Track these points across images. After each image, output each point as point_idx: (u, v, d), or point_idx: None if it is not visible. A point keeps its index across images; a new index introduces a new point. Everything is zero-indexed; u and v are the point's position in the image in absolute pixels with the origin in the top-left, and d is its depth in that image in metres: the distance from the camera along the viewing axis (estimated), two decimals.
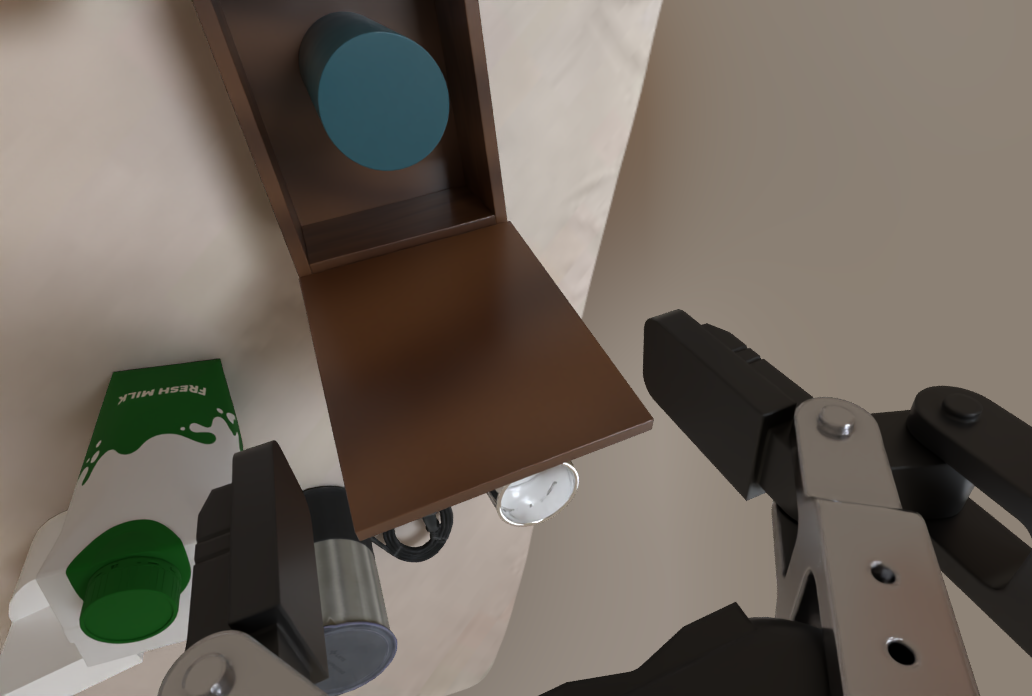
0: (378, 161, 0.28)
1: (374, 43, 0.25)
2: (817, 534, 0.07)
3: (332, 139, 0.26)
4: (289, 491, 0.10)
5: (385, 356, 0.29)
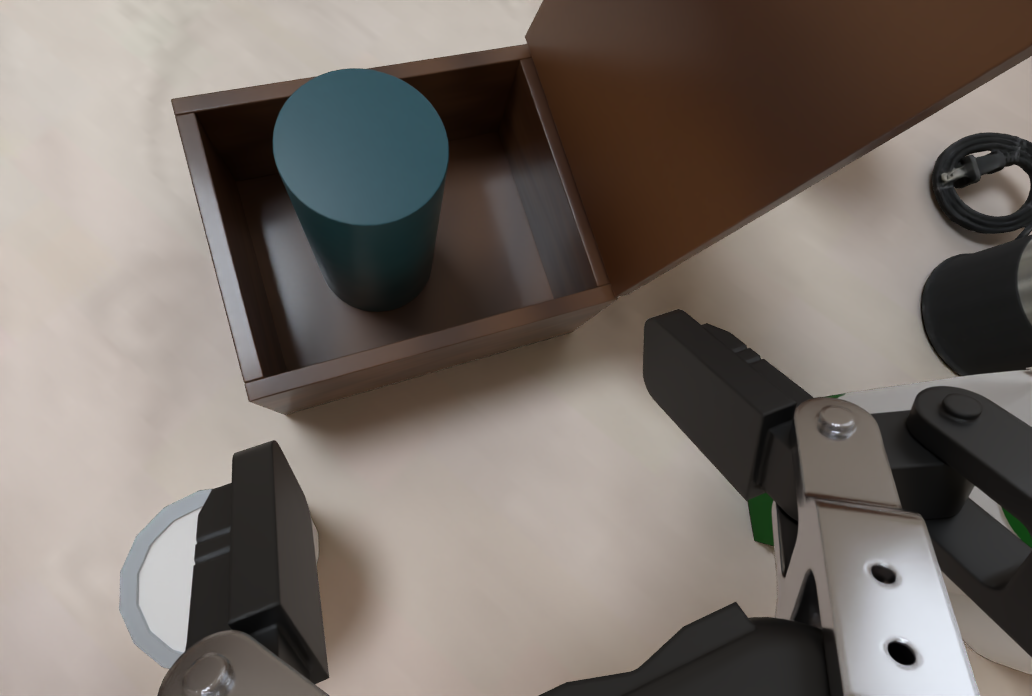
0: (436, 157, 0.21)
1: (287, 155, 0.20)
2: (817, 534, 0.07)
3: (411, 211, 0.20)
4: (289, 491, 0.10)
5: (715, 122, 0.19)
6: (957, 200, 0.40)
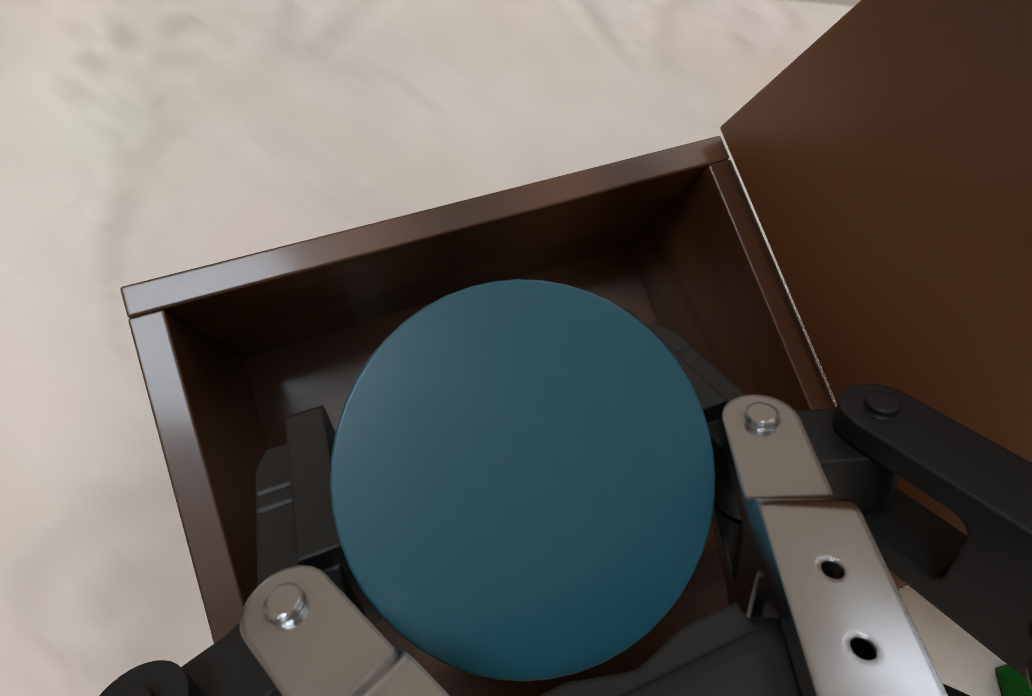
0: (691, 474, 0.09)
1: (367, 520, 0.08)
2: (765, 537, 0.07)
3: (654, 622, 0.09)
4: None
5: None
6: None
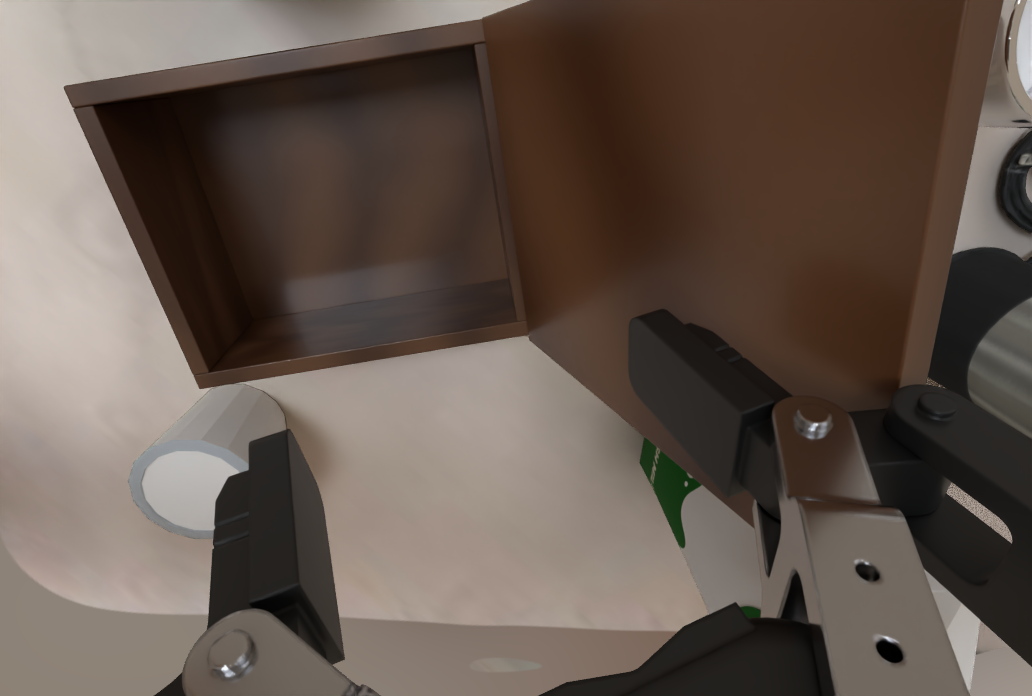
0: None
1: None
2: (801, 534, 0.07)
3: None
4: (303, 478, 0.11)
5: (624, 341, 0.19)
6: (1020, 190, 0.33)
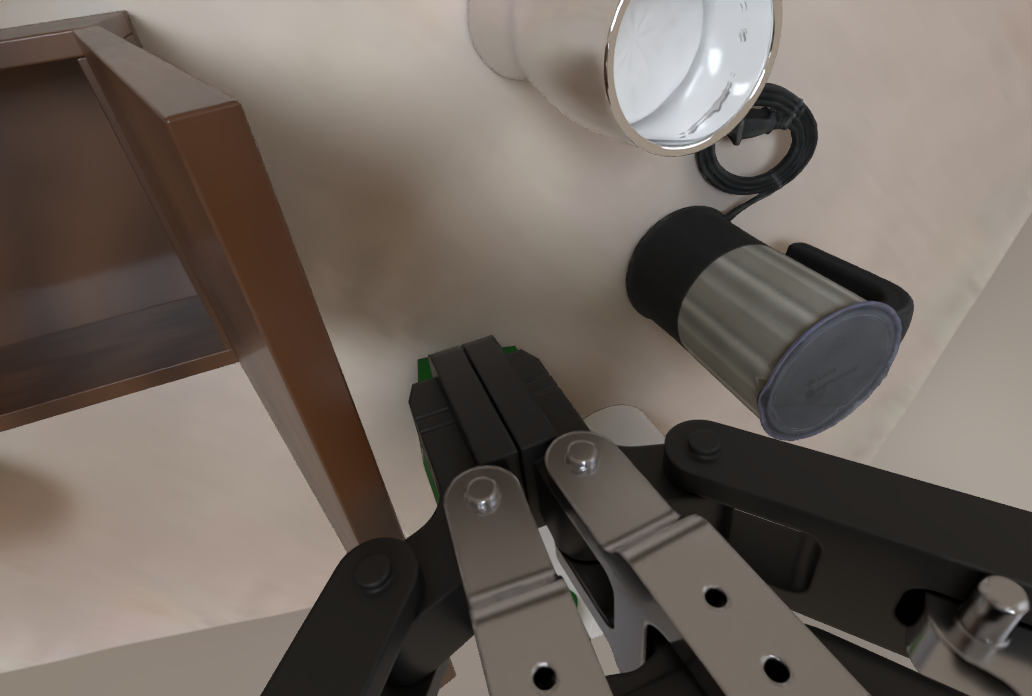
0: None
1: None
2: (643, 590, 0.07)
3: None
4: None
5: (271, 410, 0.18)
6: (711, 156, 0.37)
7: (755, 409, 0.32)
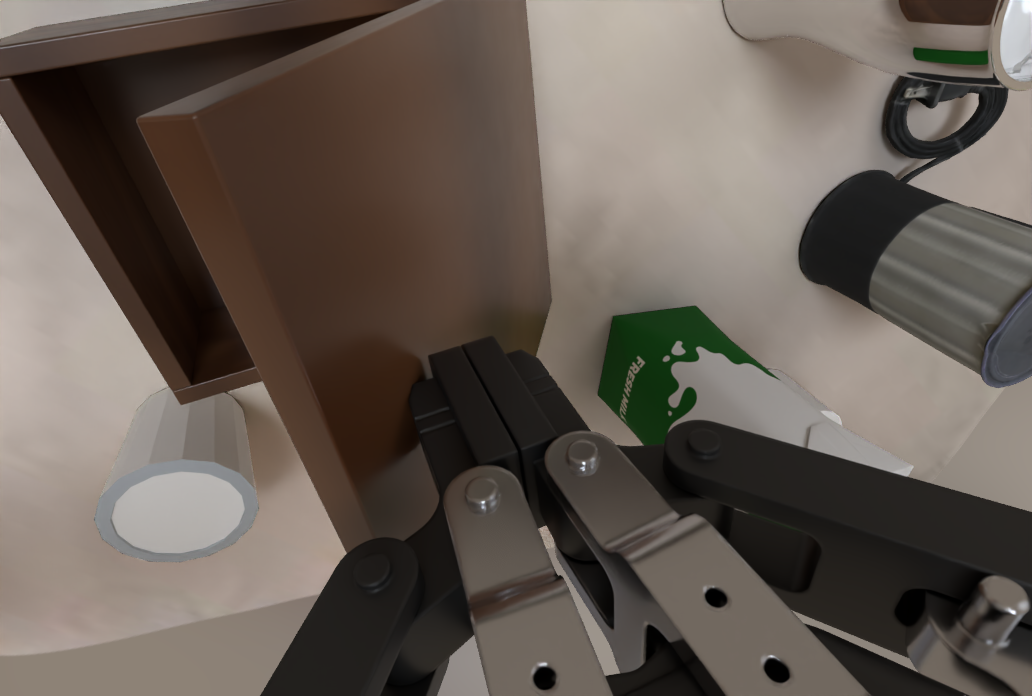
0: None
1: None
2: (643, 590, 0.07)
3: None
4: None
5: None
6: (902, 120, 0.39)
7: (973, 355, 0.34)
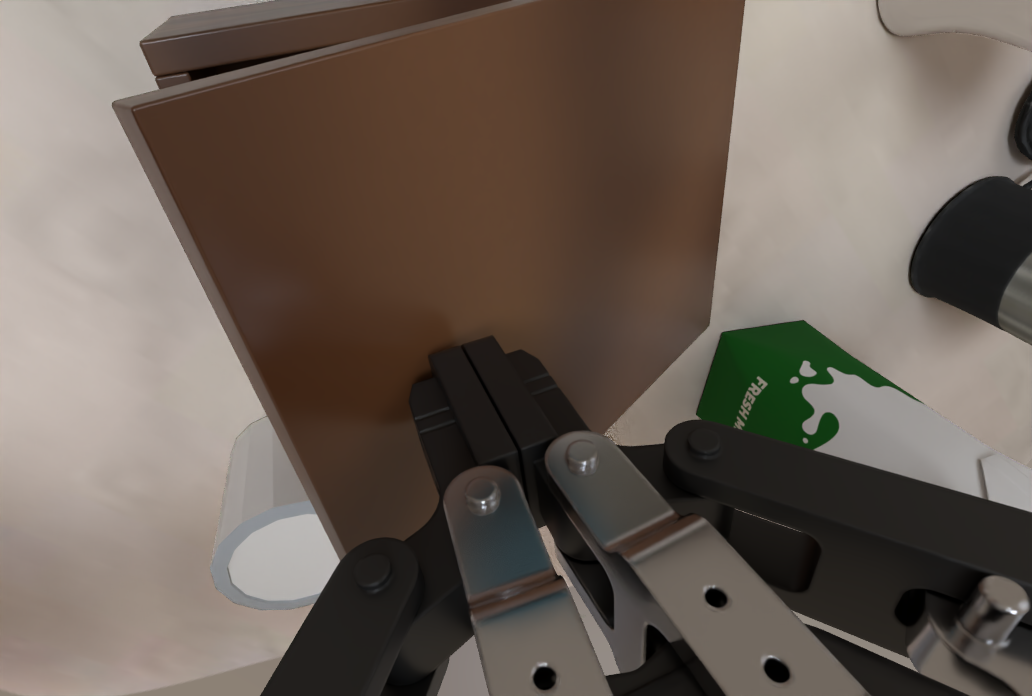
0: None
1: None
2: (644, 589, 0.07)
3: None
4: None
5: None
6: None
7: None
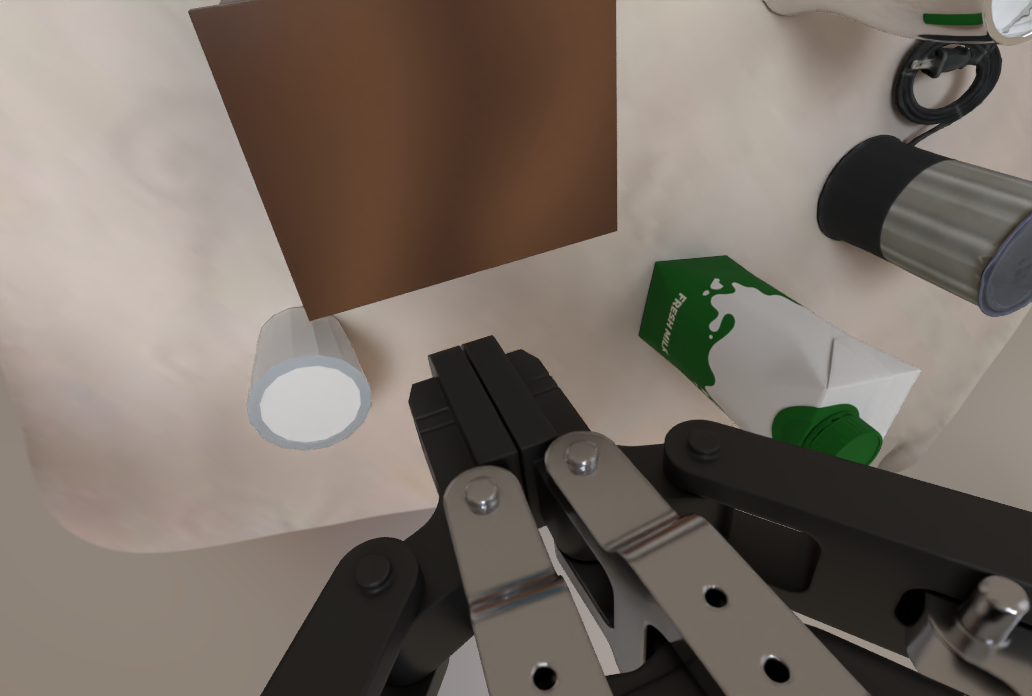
0: None
1: None
2: (643, 590, 0.07)
3: None
4: None
5: None
6: (909, 89, 0.44)
7: (971, 286, 0.39)
